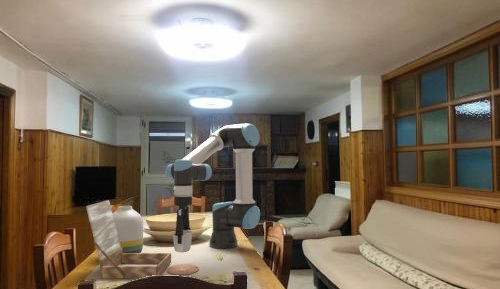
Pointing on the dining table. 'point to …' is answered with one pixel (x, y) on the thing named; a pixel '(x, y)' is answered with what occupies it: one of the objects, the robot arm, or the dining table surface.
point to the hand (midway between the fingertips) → (182, 248)
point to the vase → (129, 229)
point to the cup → (187, 240)
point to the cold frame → (119, 248)
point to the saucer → (182, 269)
